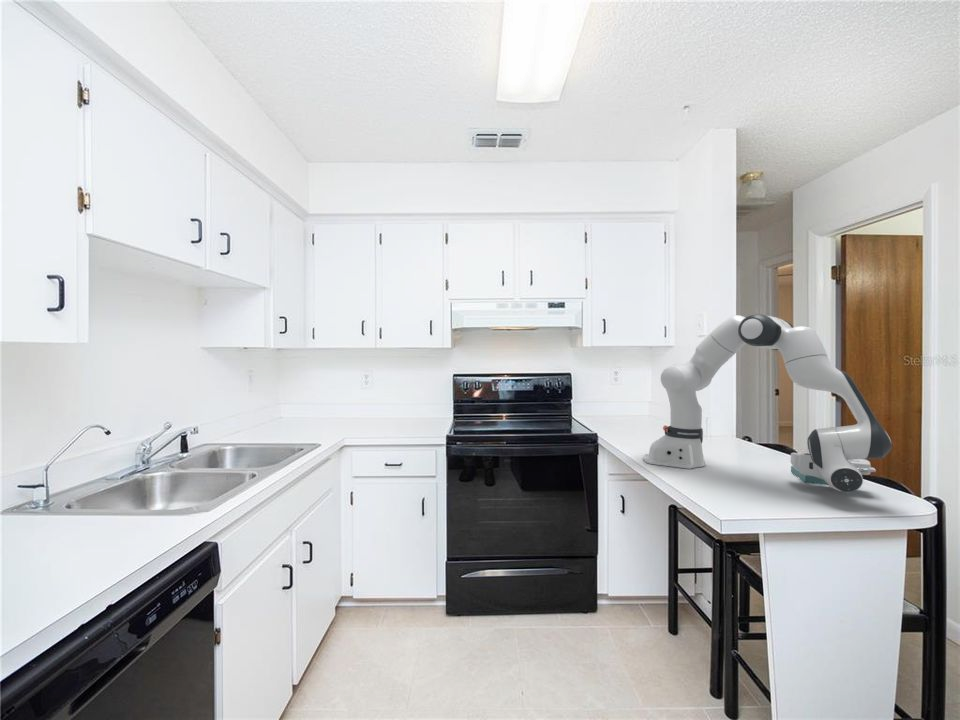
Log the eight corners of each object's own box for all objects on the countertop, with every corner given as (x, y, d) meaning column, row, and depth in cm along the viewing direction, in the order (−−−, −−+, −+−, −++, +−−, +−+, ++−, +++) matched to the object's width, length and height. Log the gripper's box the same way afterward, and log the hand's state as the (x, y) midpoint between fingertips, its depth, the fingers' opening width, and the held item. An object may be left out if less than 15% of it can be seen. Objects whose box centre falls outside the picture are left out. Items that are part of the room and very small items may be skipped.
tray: (805, 482, 146) (805, 475, 146) (790, 472, 158) (791, 465, 158) (855, 487, 142) (856, 479, 142) (837, 476, 154) (837, 469, 154)
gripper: (878, 461, 130) (864, 452, 142) (794, 453, 140) (788, 445, 152) (877, 482, 130) (864, 471, 142) (793, 473, 140) (788, 463, 152)
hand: (824, 458), depth 147 cm, fingers open, 8 cm apart
